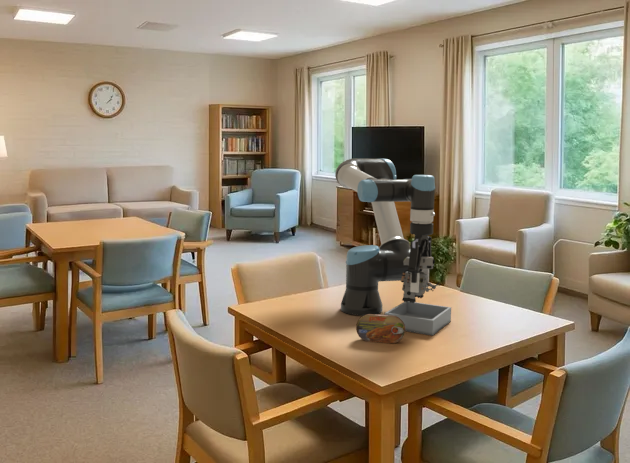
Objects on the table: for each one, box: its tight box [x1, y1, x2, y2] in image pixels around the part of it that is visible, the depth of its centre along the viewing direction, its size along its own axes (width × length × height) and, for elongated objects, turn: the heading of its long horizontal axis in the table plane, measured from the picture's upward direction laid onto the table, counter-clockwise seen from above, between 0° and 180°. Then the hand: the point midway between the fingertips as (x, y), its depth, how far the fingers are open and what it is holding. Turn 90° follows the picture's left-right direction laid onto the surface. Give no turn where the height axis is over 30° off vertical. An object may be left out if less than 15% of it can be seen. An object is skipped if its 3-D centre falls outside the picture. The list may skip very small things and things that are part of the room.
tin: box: [355, 314, 406, 344], centre depth 194 cm, size 15×3×8 cm, turn 77°
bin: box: [384, 301, 452, 337], centre depth 212 cm, size 17×19×5 cm
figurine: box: [400, 256, 441, 303], centre depth 210 cm, size 9×12×15 cm
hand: (419, 289), depth 210 cm, fingers closed on figurine, 9 cm apart
